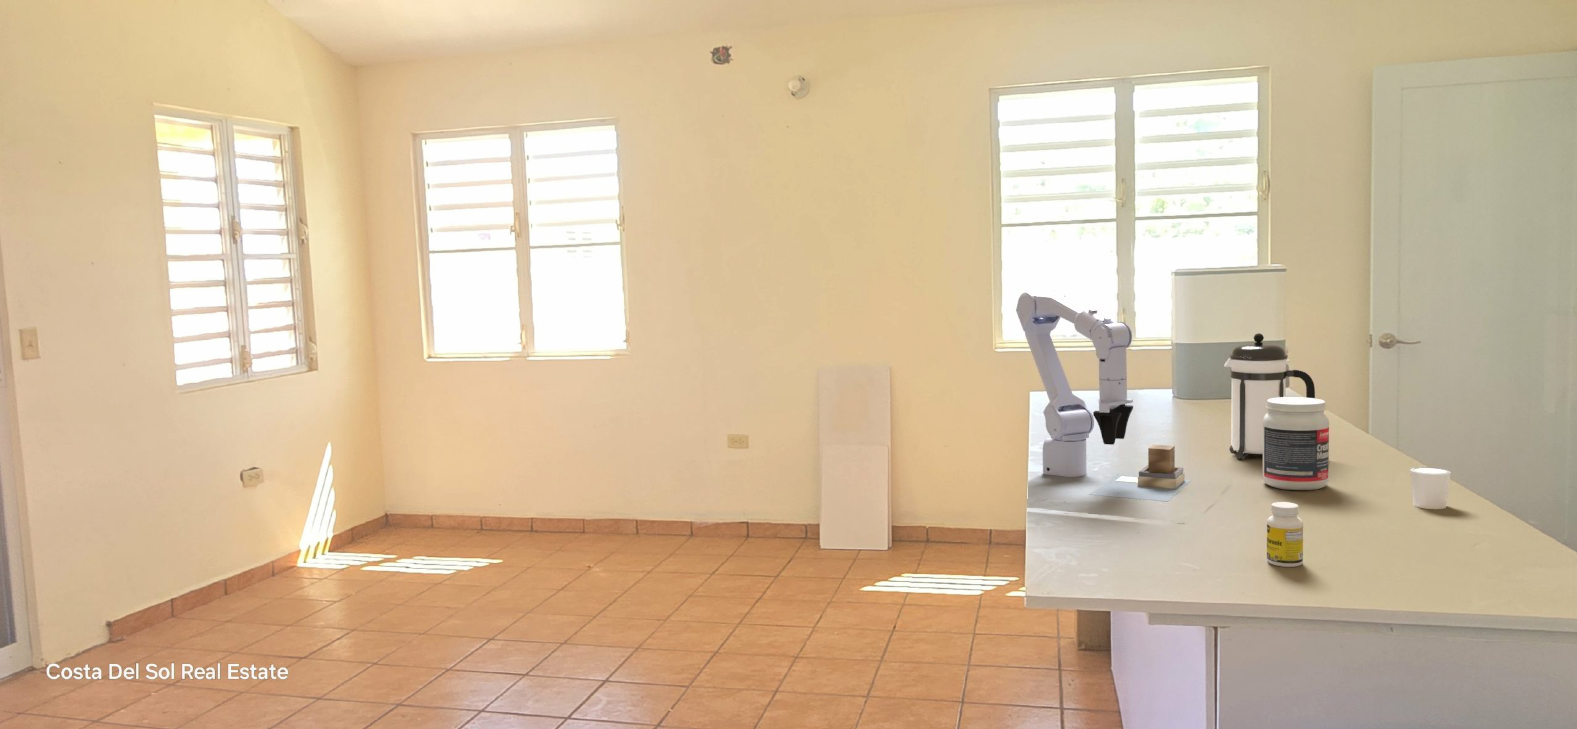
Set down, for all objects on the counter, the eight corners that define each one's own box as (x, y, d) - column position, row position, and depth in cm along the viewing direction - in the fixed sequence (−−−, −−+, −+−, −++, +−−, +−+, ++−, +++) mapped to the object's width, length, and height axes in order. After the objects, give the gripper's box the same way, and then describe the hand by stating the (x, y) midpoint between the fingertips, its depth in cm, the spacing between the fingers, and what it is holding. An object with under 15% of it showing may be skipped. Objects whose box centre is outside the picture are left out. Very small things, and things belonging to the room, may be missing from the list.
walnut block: (1148, 475, 232) (1148, 448, 232) (1153, 471, 236) (1153, 444, 235) (1169, 477, 230) (1169, 449, 229) (1174, 473, 234) (1174, 445, 233)
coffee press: (1266, 465, 251) (1267, 337, 248) (1211, 455, 265) (1211, 333, 262) (1316, 456, 259) (1317, 332, 256) (1259, 446, 273) (1260, 329, 270)
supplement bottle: (1260, 559, 179) (1260, 501, 178) (1291, 557, 179) (1291, 499, 178) (1277, 568, 174) (1278, 509, 172) (1309, 566, 174) (1310, 507, 173)
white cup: (1445, 502, 211) (1446, 467, 210) (1454, 510, 205) (1455, 474, 204) (1405, 500, 213) (1406, 466, 213) (1413, 509, 207) (1414, 473, 206)
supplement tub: (1336, 492, 222) (1337, 404, 220) (1270, 492, 225) (1270, 405, 223) (1318, 479, 235) (1320, 396, 233) (1256, 478, 238) (1256, 396, 236)
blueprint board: (1088, 498, 226) (1088, 480, 225) (1117, 477, 244) (1117, 461, 244) (1167, 505, 217) (1167, 486, 217) (1191, 483, 236) (1191, 466, 235)
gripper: (1122, 383, 223) (1123, 447, 224) (1140, 375, 235) (1141, 436, 236) (1088, 382, 227) (1090, 446, 228) (1108, 375, 239) (1109, 435, 240)
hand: (1114, 441), depth 232 cm, fingers open, 7 cm apart
